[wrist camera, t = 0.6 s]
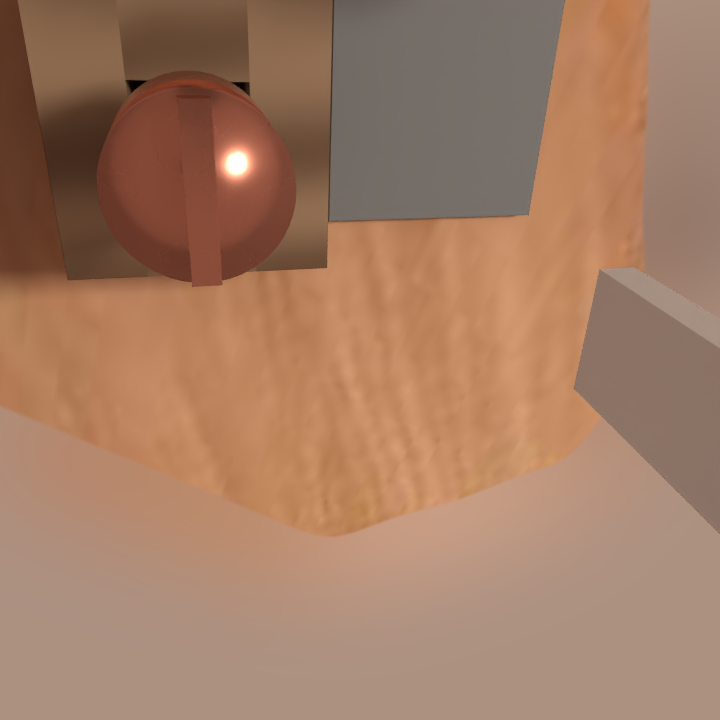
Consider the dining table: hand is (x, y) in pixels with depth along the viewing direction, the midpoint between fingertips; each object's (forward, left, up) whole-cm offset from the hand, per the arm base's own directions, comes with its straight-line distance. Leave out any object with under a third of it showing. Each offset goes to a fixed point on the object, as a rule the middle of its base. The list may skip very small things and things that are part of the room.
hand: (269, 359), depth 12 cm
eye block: (0, -1, -25) cm, 25 cm away
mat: (-1, +12, -25) cm, 28 cm away
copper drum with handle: (0, -1, -25) cm, 25 cm away
